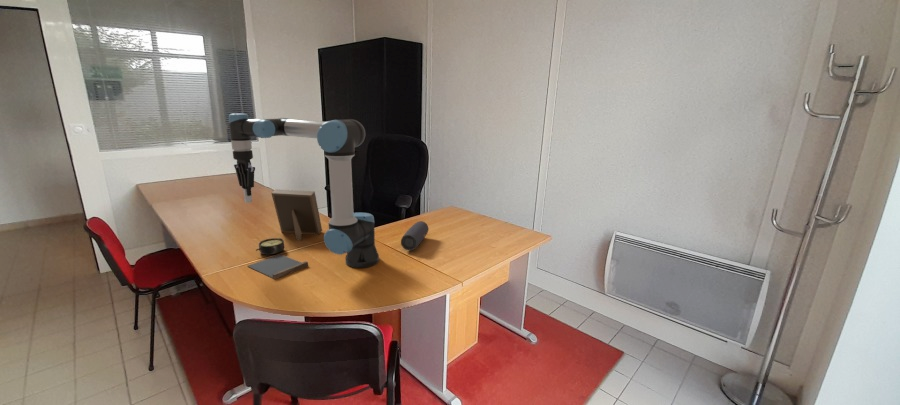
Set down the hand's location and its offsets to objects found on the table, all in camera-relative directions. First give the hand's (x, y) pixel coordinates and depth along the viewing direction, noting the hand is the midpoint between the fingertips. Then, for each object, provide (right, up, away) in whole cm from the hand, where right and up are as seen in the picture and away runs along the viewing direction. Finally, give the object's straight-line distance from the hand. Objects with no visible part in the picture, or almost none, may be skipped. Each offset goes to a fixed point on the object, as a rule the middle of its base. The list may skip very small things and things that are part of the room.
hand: (248, 202), depth 167 cm
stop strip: (+23, -30, -8) cm, 38 cm away
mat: (+14, -29, -2) cm, 32 cm away
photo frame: (+8, -18, +35) cm, 40 cm away
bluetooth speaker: (+73, -23, +27) cm, 81 cm away
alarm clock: (+5, -24, +6) cm, 25 cm away
